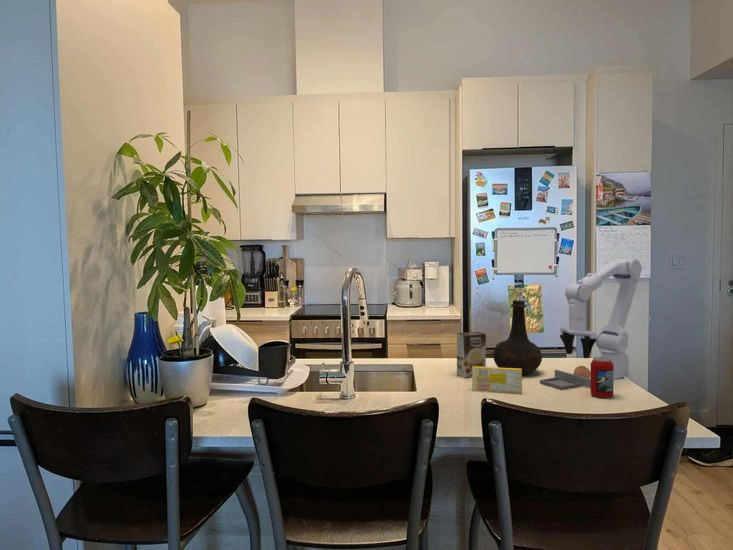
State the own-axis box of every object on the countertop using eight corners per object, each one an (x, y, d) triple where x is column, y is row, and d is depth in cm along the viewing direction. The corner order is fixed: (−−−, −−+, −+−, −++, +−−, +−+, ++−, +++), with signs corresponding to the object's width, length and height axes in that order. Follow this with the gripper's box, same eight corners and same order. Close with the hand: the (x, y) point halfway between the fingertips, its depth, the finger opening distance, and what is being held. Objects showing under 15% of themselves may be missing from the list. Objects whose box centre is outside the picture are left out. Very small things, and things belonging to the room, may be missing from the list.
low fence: (556, 377, 191) (556, 369, 191) (592, 387, 177) (592, 379, 177) (554, 378, 191) (554, 369, 191) (590, 388, 176) (590, 379, 176)
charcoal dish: (558, 380, 188) (558, 376, 188) (581, 386, 179) (581, 383, 179) (539, 383, 184) (539, 380, 184) (561, 390, 175) (561, 386, 175)
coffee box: (464, 378, 192) (464, 335, 191) (456, 374, 198) (456, 332, 197) (486, 376, 195) (486, 333, 194) (477, 372, 201) (477, 331, 200)
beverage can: (603, 400, 163) (604, 362, 162) (585, 394, 169) (585, 358, 168) (618, 396, 166) (618, 359, 165) (599, 391, 172) (600, 356, 171)
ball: (581, 378, 189) (581, 363, 189) (593, 382, 184) (593, 366, 184) (570, 380, 187) (570, 365, 187) (582, 383, 182) (582, 368, 182)
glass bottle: (488, 367, 208) (487, 298, 207) (532, 366, 209) (532, 297, 208) (501, 379, 191) (501, 303, 189) (549, 377, 191) (549, 302, 190)
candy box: (522, 393, 173) (522, 368, 172) (521, 394, 171) (521, 369, 170) (472, 389, 178) (472, 365, 178) (472, 391, 176) (471, 366, 176)
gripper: (553, 316, 188) (553, 353, 189) (586, 321, 175) (586, 361, 176) (568, 314, 191) (568, 351, 192) (601, 319, 178) (601, 358, 179)
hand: (577, 355), depth 184 cm, fingers open, 7 cm apart
